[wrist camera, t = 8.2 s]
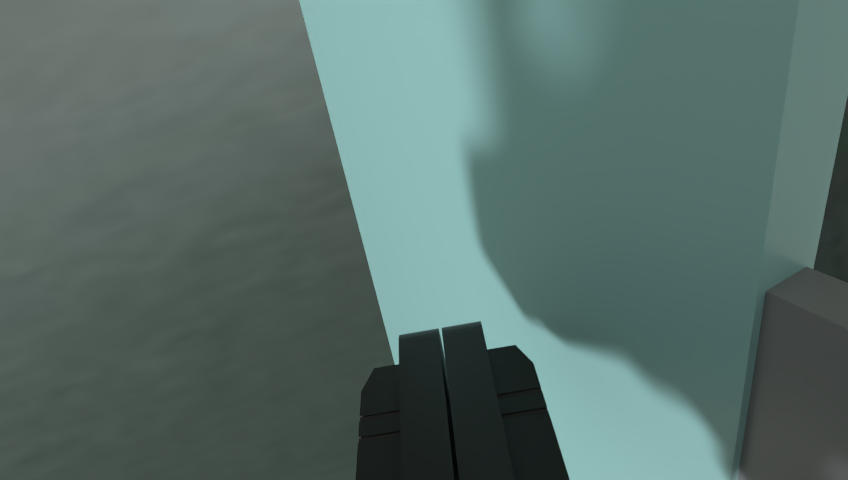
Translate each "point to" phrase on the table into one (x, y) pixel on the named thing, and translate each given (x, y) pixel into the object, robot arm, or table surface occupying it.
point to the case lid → (612, 212)
